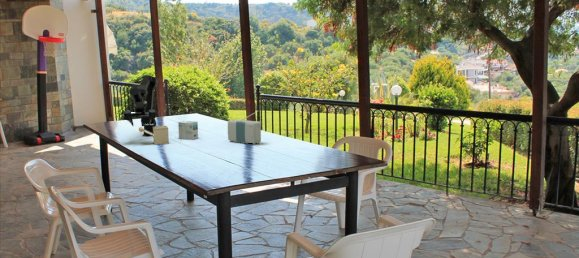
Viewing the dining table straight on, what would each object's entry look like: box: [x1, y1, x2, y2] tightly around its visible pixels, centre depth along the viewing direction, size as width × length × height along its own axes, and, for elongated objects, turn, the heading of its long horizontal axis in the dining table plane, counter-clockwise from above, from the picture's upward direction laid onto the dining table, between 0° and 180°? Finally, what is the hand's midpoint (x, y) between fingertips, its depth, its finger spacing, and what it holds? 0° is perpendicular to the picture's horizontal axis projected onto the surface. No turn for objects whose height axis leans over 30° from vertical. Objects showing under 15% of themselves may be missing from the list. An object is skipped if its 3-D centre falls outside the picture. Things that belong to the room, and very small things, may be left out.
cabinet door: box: [138, 126, 154, 137], centre depth 334 cm, size 2×9×9 cm
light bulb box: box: [177, 120, 199, 140], centre depth 352 cm, size 11×7×11 cm, turn 71°
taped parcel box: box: [227, 110, 262, 145], centre depth 337 cm, size 21×8×20 cm, turn 56°
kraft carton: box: [153, 125, 170, 145], centre depth 337 cm, size 8×10×10 cm
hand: (141, 125), depth 332 cm, fingers open, 9 cm apart
